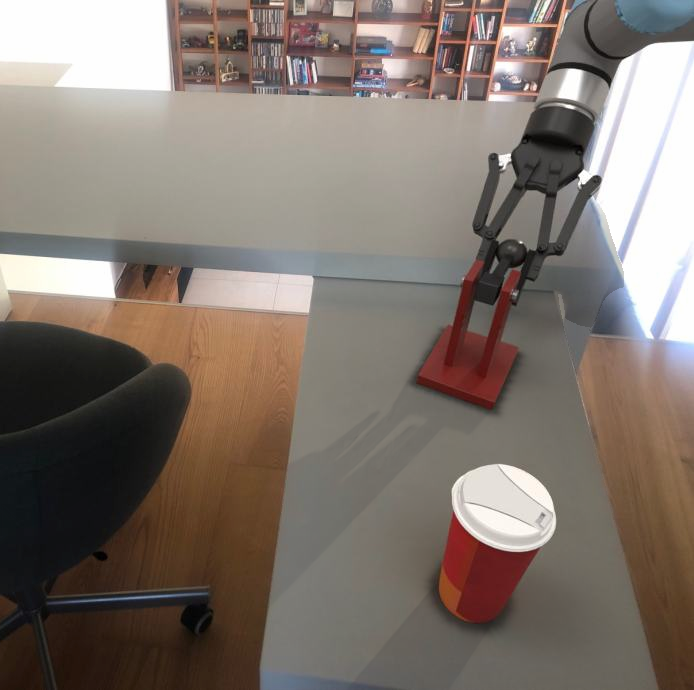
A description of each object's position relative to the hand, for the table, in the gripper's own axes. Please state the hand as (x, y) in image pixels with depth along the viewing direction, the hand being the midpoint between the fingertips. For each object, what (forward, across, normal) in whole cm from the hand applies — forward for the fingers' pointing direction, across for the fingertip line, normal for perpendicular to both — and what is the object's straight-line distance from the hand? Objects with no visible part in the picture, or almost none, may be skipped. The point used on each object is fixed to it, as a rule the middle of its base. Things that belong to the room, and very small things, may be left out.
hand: (495, 297), depth 85 cm
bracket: (+9, 0, +1) cm, 9 cm away
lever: (-1, 0, +3) cm, 4 cm away
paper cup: (+30, -9, +21) cm, 38 cm away
